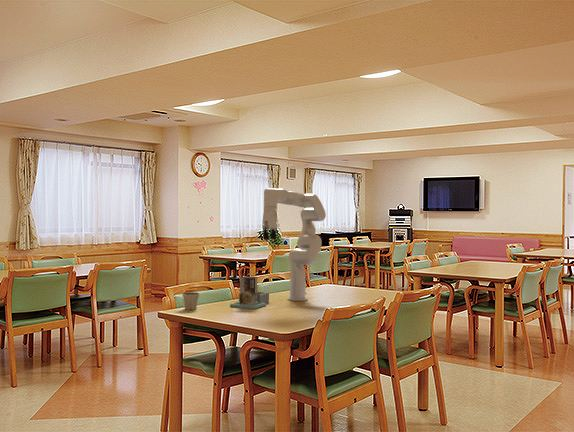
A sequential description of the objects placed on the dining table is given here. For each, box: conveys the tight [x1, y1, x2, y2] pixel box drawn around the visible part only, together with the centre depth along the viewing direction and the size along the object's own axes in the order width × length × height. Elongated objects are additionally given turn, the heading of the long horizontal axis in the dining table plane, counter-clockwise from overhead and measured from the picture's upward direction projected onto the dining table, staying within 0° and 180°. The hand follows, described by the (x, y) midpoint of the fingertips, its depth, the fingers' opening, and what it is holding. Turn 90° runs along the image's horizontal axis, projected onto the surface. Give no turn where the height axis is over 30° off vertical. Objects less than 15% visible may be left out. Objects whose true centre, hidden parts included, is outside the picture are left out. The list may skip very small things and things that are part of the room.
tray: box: [229, 300, 267, 310], centre depth 318 cm, size 13×16×2 cm
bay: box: [238, 291, 270, 304], centre depth 331 cm, size 12×14×6 cm
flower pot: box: [182, 291, 200, 311], centre depth 306 cm, size 9×9×9 cm
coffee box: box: [239, 276, 258, 306], centre depth 319 cm, size 9×6×16 cm
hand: (269, 239), depth 325 cm, fingers open, 9 cm apart
